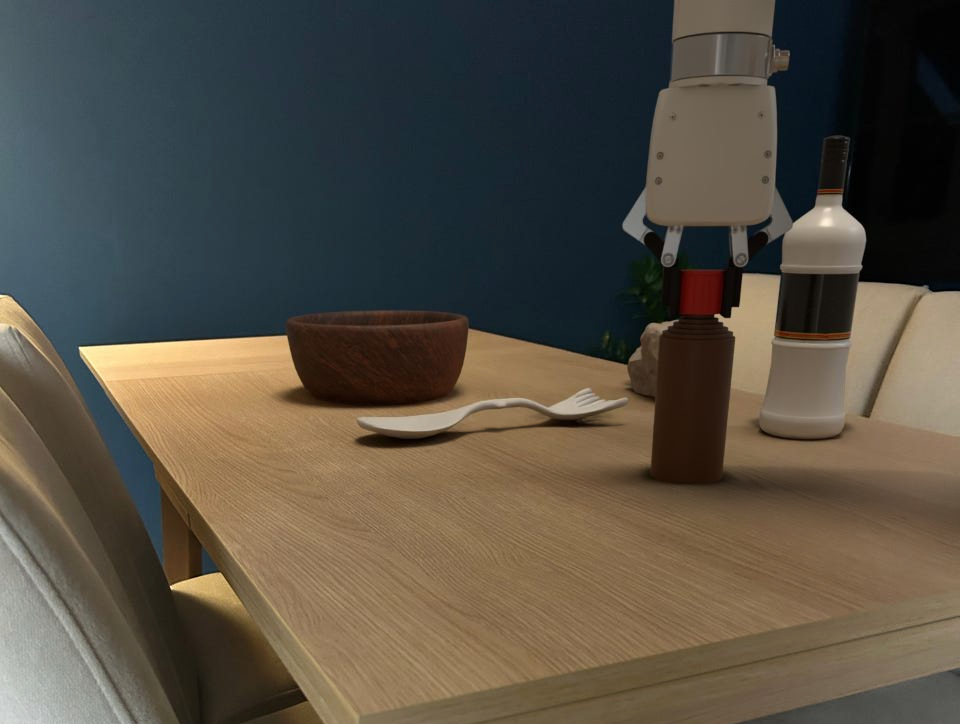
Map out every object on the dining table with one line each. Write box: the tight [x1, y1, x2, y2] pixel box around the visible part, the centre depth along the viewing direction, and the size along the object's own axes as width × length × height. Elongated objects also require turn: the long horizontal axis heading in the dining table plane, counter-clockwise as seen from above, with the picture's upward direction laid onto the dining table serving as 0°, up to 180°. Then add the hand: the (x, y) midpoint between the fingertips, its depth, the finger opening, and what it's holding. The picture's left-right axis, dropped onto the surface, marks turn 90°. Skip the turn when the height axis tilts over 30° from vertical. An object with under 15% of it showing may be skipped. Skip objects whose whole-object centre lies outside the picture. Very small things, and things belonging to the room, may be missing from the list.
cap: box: [678, 268, 725, 315], centre depth 82 cm, size 4×4×3 cm
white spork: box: [356, 387, 629, 440], centre depth 111 cm, size 9×32×3 cm, turn 116°
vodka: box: [758, 135, 867, 440], centre depth 104 cm, size 9×9×30 cm
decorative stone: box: [626, 319, 679, 398], centre depth 130 cm, size 20×8×10 cm, turn 12°
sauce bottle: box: [649, 314, 736, 485], centre depth 85 cm, size 6×6×18 cm
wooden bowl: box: [284, 309, 470, 405], centre depth 135 cm, size 25×25×10 cm
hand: (698, 314), depth 83 cm, fingers closed on cap, 3 cm apart
